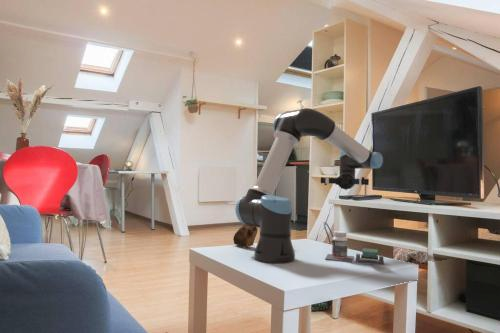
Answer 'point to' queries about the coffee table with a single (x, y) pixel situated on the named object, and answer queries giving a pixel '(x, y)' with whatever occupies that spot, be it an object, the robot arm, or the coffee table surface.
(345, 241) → the pill bottle
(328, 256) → the coaster
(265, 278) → the coffee table surface
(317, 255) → the coffee table surface
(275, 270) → the coffee table surface
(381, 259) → the switch base
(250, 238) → the decorative rock
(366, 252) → the switch paddle
